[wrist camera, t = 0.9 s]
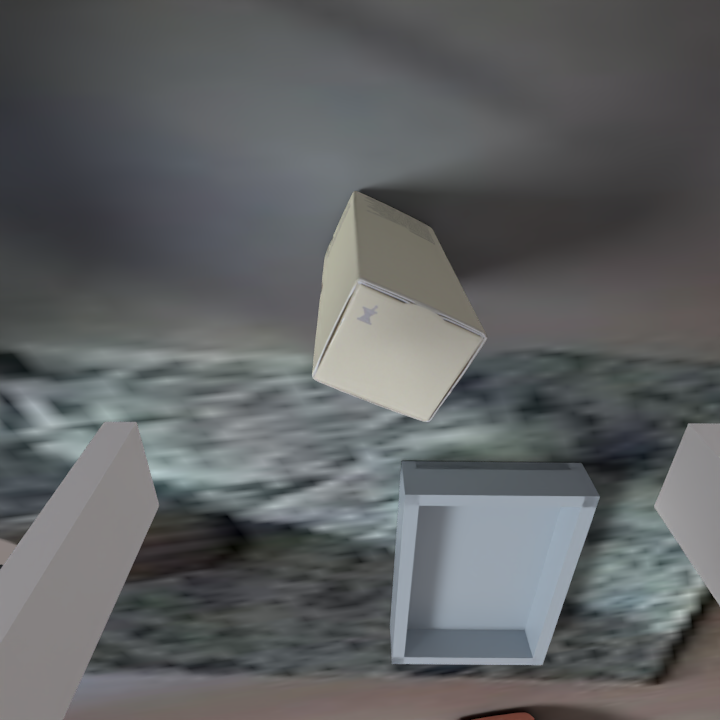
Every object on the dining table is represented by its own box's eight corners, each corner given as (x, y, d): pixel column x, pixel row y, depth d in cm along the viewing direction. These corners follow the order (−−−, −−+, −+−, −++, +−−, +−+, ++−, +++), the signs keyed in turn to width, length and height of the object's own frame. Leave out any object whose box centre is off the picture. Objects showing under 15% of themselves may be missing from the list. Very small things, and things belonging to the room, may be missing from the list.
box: (322, 257, 29) (298, 379, 18) (355, 186, 27) (351, 272, 16) (404, 294, 30) (429, 430, 19) (441, 228, 28) (493, 337, 17)
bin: (390, 627, 47) (391, 663, 44) (401, 461, 37) (404, 494, 34) (531, 628, 47) (542, 664, 44) (581, 462, 37) (600, 496, 34)
